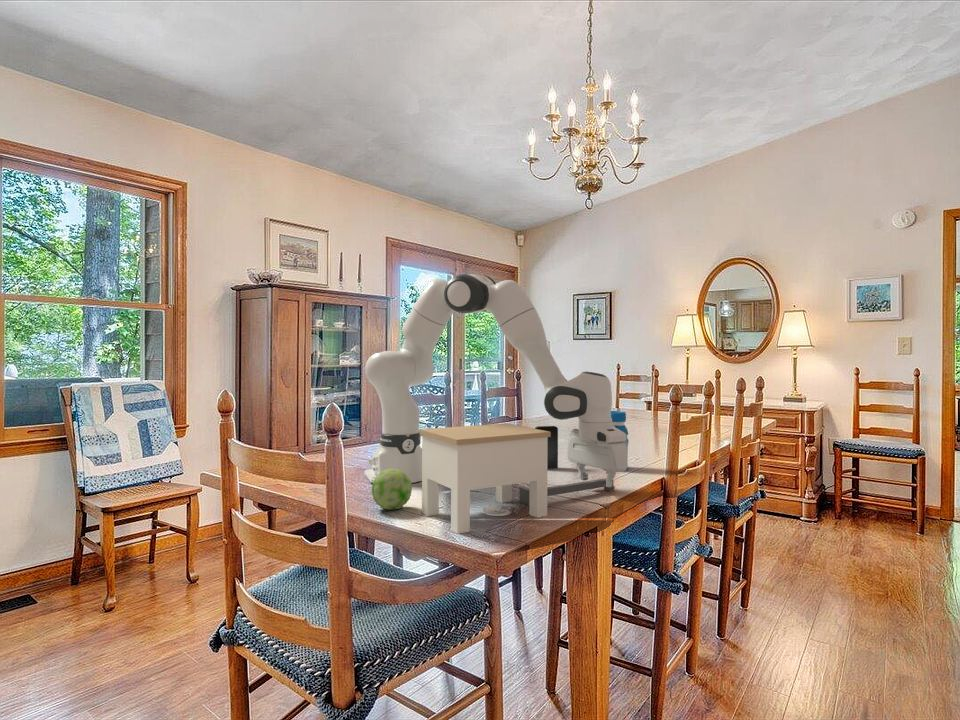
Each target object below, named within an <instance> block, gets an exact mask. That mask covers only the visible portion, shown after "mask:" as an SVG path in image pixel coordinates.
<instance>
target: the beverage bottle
mask: <svg viewBox="0 0 960 720" xmlns="http://www.w3.org/2000/svg"><path fill="white" fill-rule="evenodd" d="M611 418H612V425H613V426H615V427H616V428H617V429H619V430H621V431H622V432H624V433H625V434H626V436H627V439H626V441H623V442H624V443H625V445H626V447H627V459H629V456H628V455H629V454H628V453H629V438H628V435H629V431H628V428H627V427H626V425H625V423H626V422H627V414H626V411H621V410H611ZM628 466H629V464H628V462H627V468H626V470H625V471H624V472H627V471H628V470H629V468H628ZM602 470H604V469H602ZM604 471H605V470H604Z"/></svg>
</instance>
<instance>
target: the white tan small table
mask: <svg viewBox="0 0 960 720" xmlns="http://www.w3.org/2000/svg"><path fill="white" fill-rule="evenodd" d="M419 434H420V436H421V448H422V481H421V514H422V515H425V516H426V517H430V516H436V515H437V516H439V514H440V513H439V512H440V509H439V508H440V504H439V503H440V498H439V497H440V492H439V491H440V486H439V485H442V486H444V487H446V488H448V489H450V531H452V532H454V533H455V534H458V535H459V534H465V533H468V532H469V533H470V528H471V523H470V521H471V520H470V519H471V516H470V515H471V514H470V513H471V512H470V511H471V509H470V508H471V505H470V504H471V499H470V498H471V494H470V493H471V490H480V489H487V488H495V501H497V502H499V503H501V504H504V503H507V502H512V500H513V497H512V495H513V494H512V493H513V491H512V489H513V488H512V487H513V486H512V485H515V484H516V485H517V484H522V483H529V487H528V488H529V505H528V506H529V511H528V514H529V515H530V516H532V517H534V518H536V517H537V518H538V517H539V518H543V517H548V496H547V487H548V469H547V448H548V437H551V432H549V431H544V430H539V429H535V428H532V427H527V426H521V425H518V424H512V423H507V422H506V423H491V424H478V425H476V424H475V425H464V426H451V427H449V426H448V427H434V428H421V429H420V428H419ZM542 516H543V517H542Z"/></svg>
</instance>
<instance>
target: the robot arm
mask: <svg viewBox="0 0 960 720" xmlns="http://www.w3.org/2000/svg"><path fill="white" fill-rule="evenodd" d="M486 311H487V312H489V313H490V314H491V315H492V316H493V318H494V320H496V322H497V324H498V327H499V328H500V330H501V332H502V334H503V335H504V337H505V338H506V340H507V341H508V342H509V344H510V345H511V347H513V348H514V350H516V351H518V352H519V353H520V354H521V355H523V357H525V358H526V359H527V360H528V361H529V363H530V364H531V366H532V367H533V369H534V371H535V372H536V375H537V376H538V377H539V380H540V382H541V383H542V385H543V388H544V393H545V396H544V399H543V405H544V408H545V411H546V412H547V413H548V415H549V416H551V417H552V418H554V419H556V420H560V421H564V420H569V419H573V418H577V419H578V428H573V429H572V430H571V431H570V432H569V438H568V441H567V451H566V452H567V453H566V457H567V459H568V461H569V462H572V463H576V469H577V471H578V473H579V480H581V481H589V480H588V479H589V473H587V471H586V468H585V467H586V466H587V467H588V466H589V467H592V468H596V469H601V470H603V469H604V471H605V474H606V477H605V478H606V479H605V478H604V479H605V480H604V486H606V487H612V480H613V481H614V478H615V477H616V474H617V473H621V472H626V471H625V470H626V468H627V462H628V461H629V460H628V459H629V458H628V459H627V447H626V445H625V443H624V442H623V441H626V439H627V438H628V435H627V436H626V434H625V433H624V432H622V431H621V430H619V429H617V428H616V427H615V426H613V425H612V418H611V411H612V407H613V395H612V392H613V391H612V385H611V380H610V378H609V377H607V375H604V374H603V373H602V374H601V373H597V372H592V371H581V372H580V374H578V375H577V376H575V377H573V378H571V379H569V380H567V379H566V378H565V376H564V375H563V374H562V371H561V370H560V368H559V366H558V364H557V362H556V361H555V359H554V357H553V356H552V353H551V351H550V349H549V345H548V342H547V341H548V340H547V337H546V332H545V329H544V326H543V322H542V320H541V317H540V316H539V313H538V311H537V310H536V308H535V305H534V303H533V302H532V301H531V299H530V298H529V295H527V293H526V292H525V290H524V289H523V288H522V287H521V285H519V283H518V282H517V281H515V280H512V279H506V280H501V281H499V282H497V283H496V281H495V280H494V279H493V278H491V277H490V276H488V275H484V274H478V273H469V274H466V273H465V274H464V273H463V274H462V273H461V274H458V275H455V276H453V277H452V278H451V279H449V280H445V279H441V278H436V279H435V278H434V279H432V280H430V282H429V283H427V285H426V287H425V288H423V290H422V291H421V293H420V294H419V296H418V297H417V299H416V301H415V303H414V305H412V308H411V310H410V312H409V314H408V316H407V317H406V320H405V321H404V323H403V325H402V328H401V332H402V335H403V337H404V341H403V344H402V347H401V349H400V350H384V351H383V350H382V351H380V352H377V353H374V354H372V355H370V356H369V357H368V359H367V361H366V363H365V367H364V372H365V373H364V374H365V377H366V380H367V381H368V382H369V383H370V384H371V385H372V386H373V388H374V389H375V390H376V393H377V395H378V398H379V402H380V406H381V415H382V416H381V424H382V425H381V426H382V429H381V431H382V432H381V433H380V436H379V447H378V448H377V449H376V451H375V452H374V453H373V455H371V456H372V457H369V458H368V466H371V468H368V469H366V470H365V469H364V475H365V477H366V478H367V479H368V481H369V482H370V483H372V484H373V481H374V479H375V478H376V476H377V475H379V474H380V473H381V472H382V471H384V470H387V469H398V470H401V471H402V472H404V473H405V474H406V475H407V476H408V477H409V479H410V480H411V484H412V483H413V484H414V483H419V482H422V446H420V445H421V444H422V441H421V440H422V435H420V434H419V429H420V407H419V405H418V404H417V403H416V402H415V401H414V399H413V398H412V395H411V392H410V387H418V386H419V385H422V384H424V383H427V382H429V380H431V378H432V377H433V375H434V370H435V367H434V362H433V355H434V352H435V348H436V345H437V343H438V341H439V340H440V337H441V335H442V333H443V332H444V330H445V328H446V326H447V324H448V322H449V320H450V318H452V315H453V314H454V313H455V312H457V313H460V314H479V313H481V312H486Z"/></svg>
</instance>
